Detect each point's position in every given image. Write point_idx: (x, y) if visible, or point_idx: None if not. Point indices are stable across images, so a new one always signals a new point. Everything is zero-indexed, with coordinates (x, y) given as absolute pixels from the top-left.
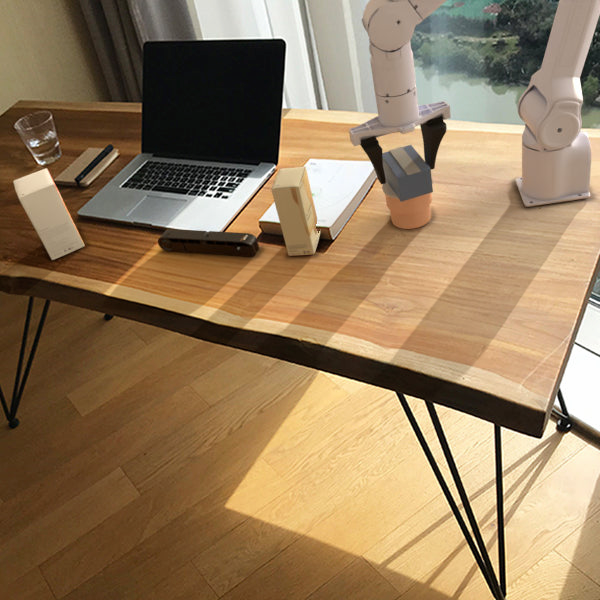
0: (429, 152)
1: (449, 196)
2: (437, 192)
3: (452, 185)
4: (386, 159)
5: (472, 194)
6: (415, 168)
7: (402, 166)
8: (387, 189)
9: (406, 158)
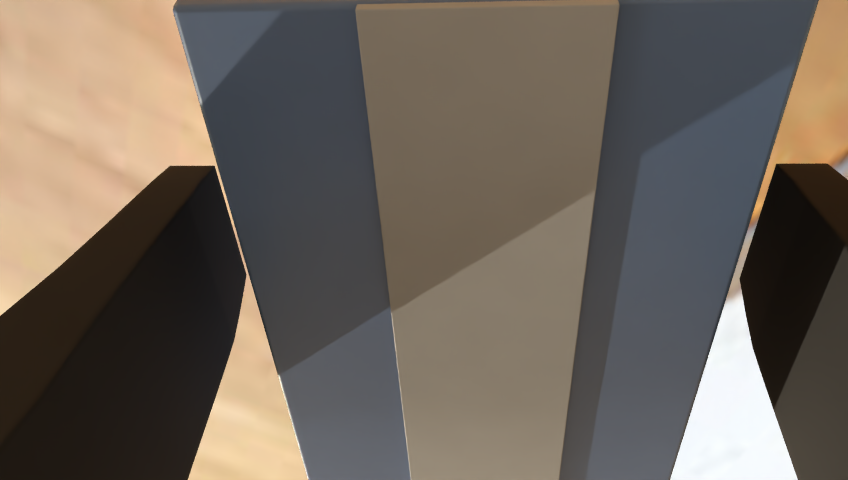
0: (132, 341)
1: (176, 83)
2: None
3: (143, 176)
4: (657, 448)
5: (20, 34)
6: (418, 122)
7: (572, 257)
8: None
9: (448, 374)
